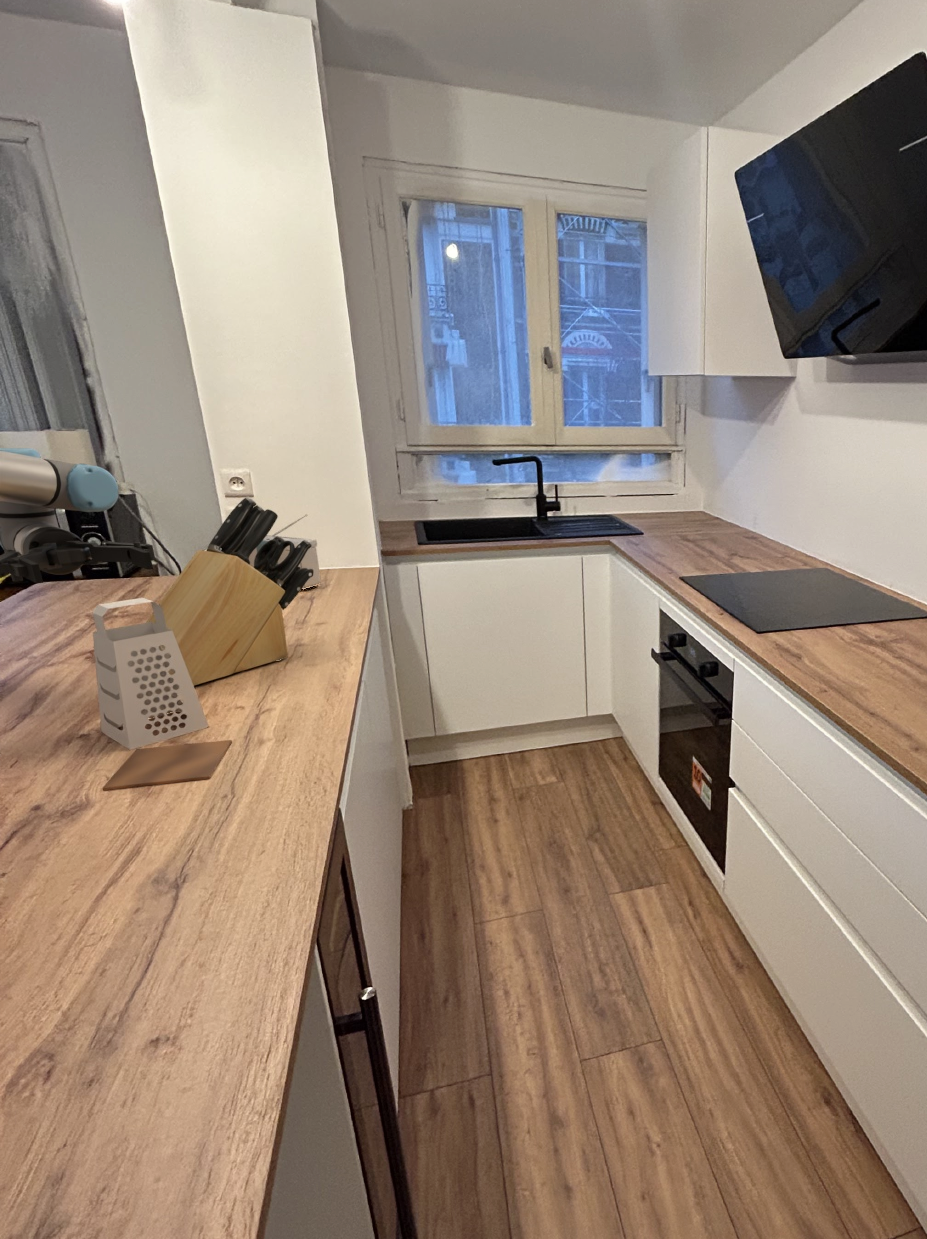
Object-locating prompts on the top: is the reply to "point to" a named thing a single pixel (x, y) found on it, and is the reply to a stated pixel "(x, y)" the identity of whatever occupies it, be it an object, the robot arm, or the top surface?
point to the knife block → (235, 597)
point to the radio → (307, 562)
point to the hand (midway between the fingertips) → (95, 567)
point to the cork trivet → (169, 764)
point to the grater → (142, 680)
